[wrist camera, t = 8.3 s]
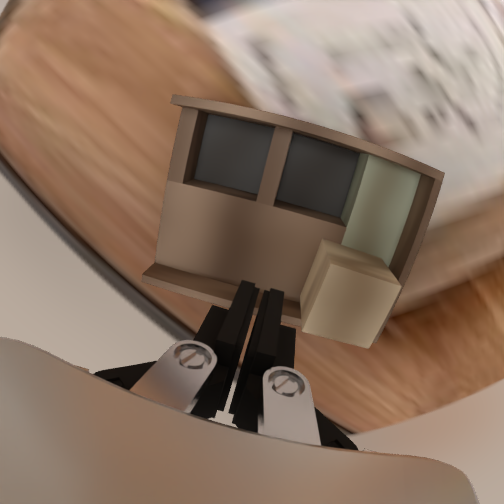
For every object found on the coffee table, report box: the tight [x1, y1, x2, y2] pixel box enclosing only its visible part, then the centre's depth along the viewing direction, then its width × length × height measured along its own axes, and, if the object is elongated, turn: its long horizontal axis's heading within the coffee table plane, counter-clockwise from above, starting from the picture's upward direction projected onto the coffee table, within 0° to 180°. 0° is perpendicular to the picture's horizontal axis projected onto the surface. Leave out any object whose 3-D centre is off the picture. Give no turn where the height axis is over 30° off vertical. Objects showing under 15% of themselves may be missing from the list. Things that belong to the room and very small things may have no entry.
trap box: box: [142, 94, 445, 343], centre depth 18 cm, size 15×11×4 cm
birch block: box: [300, 238, 402, 349], centre depth 17 cm, size 4×4×4 cm
